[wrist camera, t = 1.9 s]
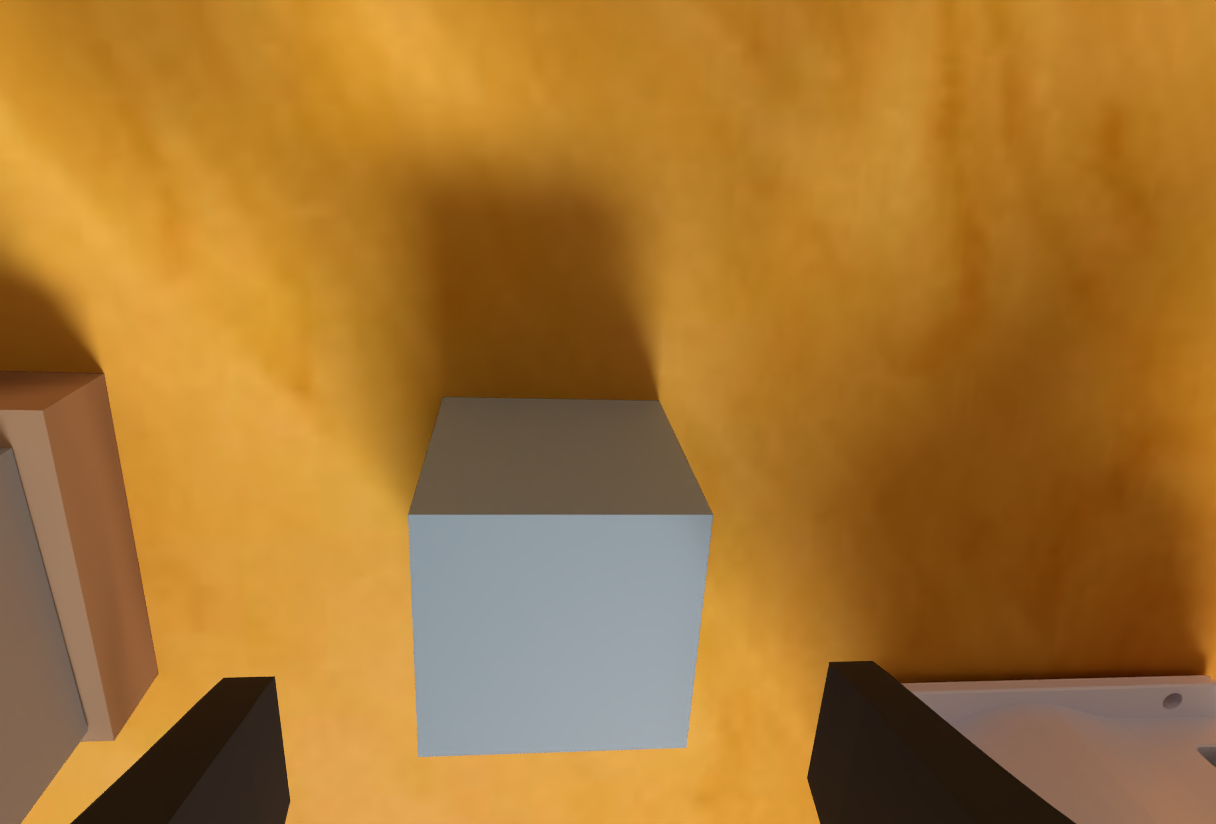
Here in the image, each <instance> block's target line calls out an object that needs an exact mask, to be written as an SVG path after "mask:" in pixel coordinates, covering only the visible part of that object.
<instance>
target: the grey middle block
mask: <svg viewBox="0 0 1216 824" xmlns="http://www.w3.org/2000/svg"><path fill="white" fill-rule="evenodd" d="M87 731H88V727H87V724H86V720H85V716H84V713H83V709H82V705H81V702H80V698H79V694H78V691H77V687H76V683H75V679H74V676H73V672H72V668H71V665H70V661H69V657H68V654H67V650H66V646H65V643H64V639H63V635H62V631H61V628H60V624H59V620H58V617H57V613H56V609H55V606H54V602H53V598H52V595H51V591H50V587H49V583H48V580H47V576H46V572H45V569H44V565H43V561H42V558H41V554H40V550H39V547H38V543H37V539H36V535H35V532H34V528H33V524H32V521H31V517H30V513H29V510H28V506H27V502H26V499H25V495H24V491H23V487H22V484H21V480H20V476H19V473H18V469H17V465H16V462H15V458H14V454H13V451H12V448H0V824H21V822H22V821H23V820H24V818H25V817H26V815H27V814H28V813H29V811H30V810H31V809H32V807H33V806H34V804H35V803H36V802H37V800H38V799H39V798H40V796H41V795H42V793H43V792H44V791H45V789H46V788H47V787H48V785H49V784H50V782H51V781H52V780H53V778H54V777H55V775H56V774H57V773H58V771H59V770H60V769H61V767H62V766H63V764H64V763H65V762H66V760H67V759H68V758H69V756H70V755H71V753H72V752H73V751H74V749H75V748H76V747H77V745H78V744H79V742H80V741H81V740H82V738H83V737H84V736H85V734H86V733H87Z"/></svg>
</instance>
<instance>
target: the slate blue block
mask: <svg viewBox="0 0 1216 824" xmlns="http://www.w3.org/2000/svg"><path fill="white" fill-rule="evenodd" d="M408 521H409V545H410V569H411V593H412V617H413V641H414V665H415V689H416V712H417V736H418V757H432V756H461V755H489V754H518V753H547V752H576V751H605V750H634V749H663V748H686V746H687V737H688V729H689V720H690V711H691V703H692V694H693V685H694V677H695V668H696V659H697V651H698V642H699V633H700V625H701V616H702V607H703V599H704V590H705V581H706V573H707V564H708V555H709V547H710V538H711V529H712V521H713V513H712V511H711V509H710V507H709V505H708V503H707V501H706V499H705V496H704V494H703V492H702V490H701V488H700V486H699V484H698V482H697V480H696V478H695V475H694V473H693V471H692V469H691V467H690V465H689V463H688V461H687V459H686V456H685V454H684V452H683V450H682V448H681V446H680V444H679V442H678V440H677V437H676V435H675V433H674V431H673V429H672V427H671V425H670V423H669V421H668V419H667V416H666V414H665V412H664V410H663V408H662V406H661V404H660V402H659V401H654V400H595V399H537V398H478V397H443V399H442V403H441V406H440V409H439V413H438V416H437V419H436V423H435V426H434V430H433V433H432V436H431V440H430V443H429V446H428V450H427V453H426V457H425V460H424V463H423V467H422V470H421V473H420V477H419V480H418V483H417V487H416V490H415V494H414V497H413V500H412V504H411V507H410V510H409V514H408Z"/></svg>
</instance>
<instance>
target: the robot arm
mask: <svg viewBox="0 0 1216 824" xmlns="http://www.w3.org/2000/svg"><path fill="white" fill-rule="evenodd" d="M807 779H808V783H809V786H810V789H811V793H812V796H813V800H814V803H815V807H816V810H817V814H818V817H819V820H820V824H1216V681H1215V680H1214V679H1212V678H1211V677H1210V676H1205V675H1192V676H1155V677H1118V678H1081V679H1043V680H1006V681H969V682H931V683H900V682H898V681H897V680H896V679H895V678H894V677H892V676H891V675H890V674H889V673H887V672H886V671H885V670H884V669H882V668H881V667H880V666H878V665H877V664H876V663H874V662H873V661H854V662H829V667H828V672H827V677H826V683H825V688H824V693H823V698H822V703H821V709H820V714H819V719H818V724H817V730H816V735H815V740H814V745H813V750H812V756H811V761H810V766H809V771H808V777H807ZM289 804H290V796H289V788H288V780H287V772H286V764H285V755H284V747H283V739H282V731H281V723H280V715H279V707H278V699H277V691H276V683H275V677H238V678H223V679H222V680H221V681H220V682H219V683H217V684H216V685H215V686H214V687H213V688H212V689H211V690H210V691H209V692H208V693H207V694H206V695H205V696H204V697H203V698H201V699H200V700H199V701H198V702H197V703H196V704H195V705H194V706H193V707H192V708H191V709H190V710H189V711H188V712H187V713H186V714H185V715H184V716H183V717H182V718H181V719H180V720H179V721H178V722H177V723H176V724H175V725H174V726H173V727H172V728H171V729H170V730H169V731H168V732H167V733H166V734H165V735H164V736H163V737H161V738H160V739H159V740H158V741H157V742H156V743H155V744H154V745H153V746H152V747H151V748H150V749H149V750H148V751H147V752H146V753H145V754H144V755H143V756H142V757H141V758H140V759H139V760H138V761H137V762H136V763H135V764H134V765H133V766H132V767H130V768H129V769H128V770H127V771H126V772H125V773H124V774H123V775H122V776H121V777H120V778H119V779H118V780H117V781H116V782H114V783H113V784H112V785H111V786H110V787H109V788H108V789H107V790H106V791H105V792H104V793H103V794H102V795H101V796H99V797H98V798H97V799H96V800H95V801H94V802H93V803H92V804H91V805H90V806H89V807H88V808H87V809H86V810H85V811H83V812H82V813H81V814H80V815H79V816H78V817H77V818H76V819H75V820H74V821H73V822H72V823H70V824H285V820H286V816H287V812H288V808H289Z"/></svg>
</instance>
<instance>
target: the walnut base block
mask: <svg viewBox="0 0 1216 824" xmlns="http://www.w3.org/2000/svg"><path fill="white" fill-rule="evenodd" d="M0 448H12V451H13V454H14V458H15V462H16V465H17V469H18V473H19V476H20V480H21V484H22V487H23V491H24V495H25V499H26V502H27V506H28V510H29V513H30V517H31V521H32V524H33V528H34V532H35V535H36V539H37V543H38V547H39V550H40V554H41V558H42V561H43V565H44V569H45V572H46V576H47V580H48V583H49V587H50V591H51V595H52V598H53V602H54V606H55V609H56V613H57V617H58V620H59V624H60V628H61V631H62V635H63V639H64V643H65V646H66V650H67V654H68V657H69V661H70V665H71V668H72V672H73V676H74V679H75V683H76V687H77V691H78V694H79V698H80V702H81V705H82V709H83V713H84V716H85V720H86V724H87V727H88V731H87V733H86V734H85V736H84V737H83V738H82V740H81V741H80V742H84V741H114V740H115V739H116V737H117V735H118V734H119V732H120V731H121V729H122V728H123V726H124V725H125V723H126V722H127V720H128V719H129V717H130V716H131V714H132V713H133V711H134V710H135V708H136V707H137V705H138V704H139V702H140V701H141V699H142V698H143V696H144V695H145V693H146V692H147V690H148V689H149V687H150V685H151V684H152V682H153V681H154V679H155V678H156V676H157V675H158V668H157V662H156V657H155V651H154V646H153V640H152V635H151V629H150V624H149V618H148V613H147V607H146V602H145V596H144V591H143V585H142V580H141V574H140V569H139V563H138V558H137V552H136V547H135V541H134V536H133V530H132V525H131V519H130V514H129V508H128V503H127V497H126V492H125V486H124V481H123V475H122V469H121V464H120V458H119V453H118V447H117V442H116V436H115V431H114V425H113V420H112V414H111V409H110V403H109V398H108V392H107V387H106V381H105V376H104V373H68V372H25V371H0Z"/></svg>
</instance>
